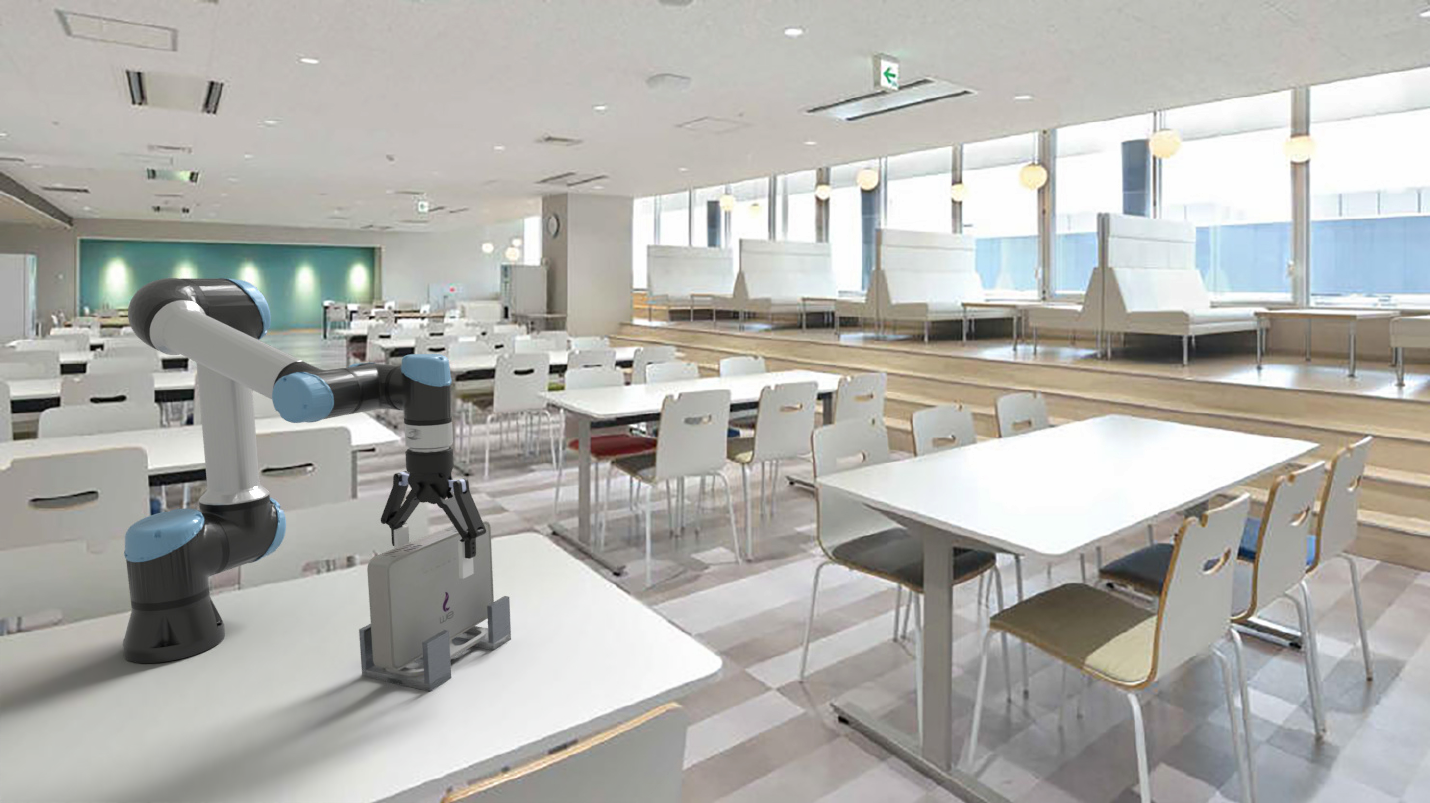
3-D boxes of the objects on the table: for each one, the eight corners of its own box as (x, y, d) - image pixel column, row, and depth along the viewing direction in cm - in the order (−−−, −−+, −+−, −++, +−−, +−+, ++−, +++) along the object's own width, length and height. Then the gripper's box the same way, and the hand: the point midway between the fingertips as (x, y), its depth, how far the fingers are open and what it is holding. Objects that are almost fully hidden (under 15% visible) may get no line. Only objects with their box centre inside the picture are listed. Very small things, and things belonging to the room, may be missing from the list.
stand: (362, 675, 135) (359, 629, 133) (448, 626, 154) (446, 586, 153) (429, 691, 129) (427, 643, 128) (511, 638, 149) (509, 596, 147)
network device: (403, 687, 128) (396, 564, 125) (361, 678, 131) (353, 557, 128) (504, 625, 151) (500, 520, 149) (466, 618, 155) (461, 515, 152)
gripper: (354, 445, 138) (360, 566, 141) (475, 458, 128) (479, 588, 131) (388, 437, 145) (393, 553, 148) (505, 449, 135) (508, 573, 138)
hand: (434, 570), depth 140 cm, fingers open, 13 cm apart
